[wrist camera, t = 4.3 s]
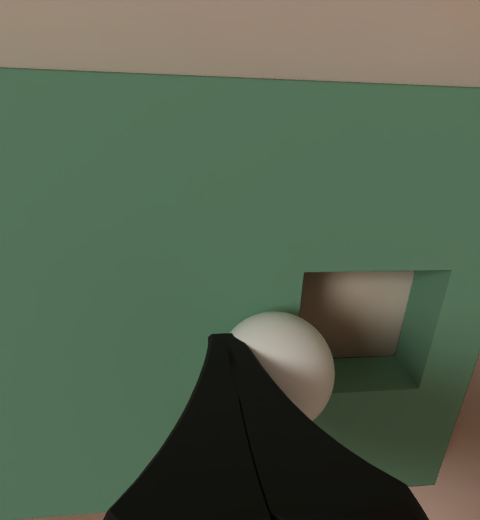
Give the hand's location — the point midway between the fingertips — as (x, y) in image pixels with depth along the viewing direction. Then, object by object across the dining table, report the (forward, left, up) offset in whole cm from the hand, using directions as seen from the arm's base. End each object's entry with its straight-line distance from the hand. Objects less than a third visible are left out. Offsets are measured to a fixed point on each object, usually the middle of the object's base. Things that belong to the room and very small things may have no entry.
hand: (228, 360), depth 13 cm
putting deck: (0, 0, -3) cm, 3 cm away
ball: (+1, 0, 0) cm, 1 cm away
